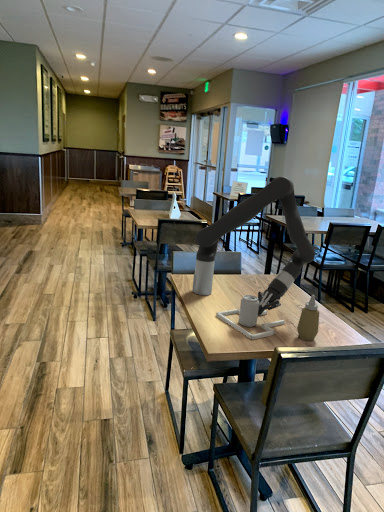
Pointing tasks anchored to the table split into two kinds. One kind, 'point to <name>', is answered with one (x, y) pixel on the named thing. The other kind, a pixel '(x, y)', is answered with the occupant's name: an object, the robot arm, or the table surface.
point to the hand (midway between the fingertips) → (256, 314)
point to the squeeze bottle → (309, 321)
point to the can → (248, 310)
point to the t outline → (254, 336)
